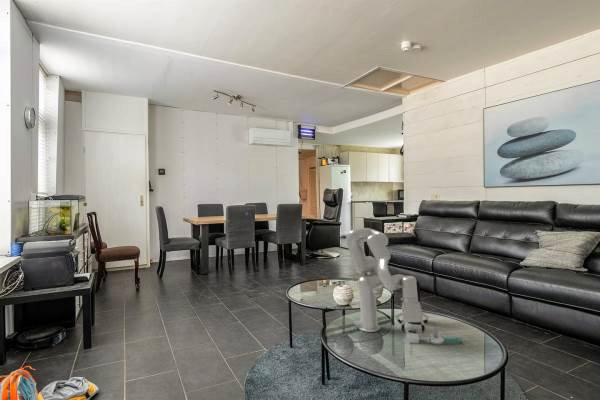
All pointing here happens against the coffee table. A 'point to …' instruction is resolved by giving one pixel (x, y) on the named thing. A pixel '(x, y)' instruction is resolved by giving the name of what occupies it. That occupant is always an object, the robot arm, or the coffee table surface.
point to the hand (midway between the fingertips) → (413, 332)
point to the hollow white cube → (412, 336)
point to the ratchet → (442, 339)
